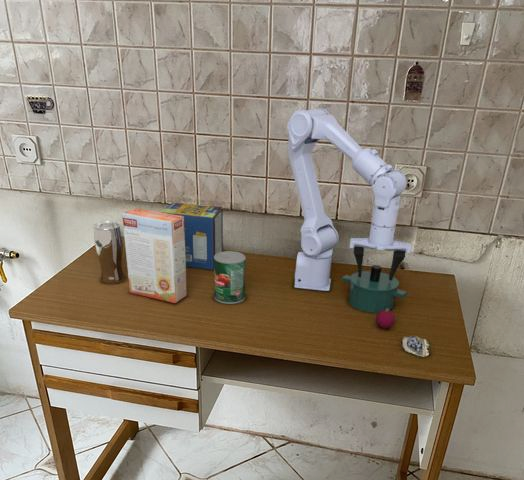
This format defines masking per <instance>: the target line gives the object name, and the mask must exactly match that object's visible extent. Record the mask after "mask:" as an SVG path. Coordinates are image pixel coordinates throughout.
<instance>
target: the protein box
mask: <svg viewBox="0 0 524 480" xmlns="http://www.w3.org/2000/svg"><path fill="white" fill-rule="evenodd" d="M223 211H224V210H223V207H222V206H216V205H215V206H213V205H202V204H194V203H193V204H192V203H181V202H172V203H170V204H169V205H168V206H166V207H165V208H164V209H162V210H161V211H160V212H161V213H167V214H173V215H179V216H184V233H185V258H186V268H194V269H203V270H210V271H214V255H215V254H217V253H219V252H224V240H223V239H224V236H223V235H224V234H223V233H224V232H223V229H224V226H223V225H224V224H223V223H224V222H223V221H224V218H223V217H224V214H223Z"/></svg>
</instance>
